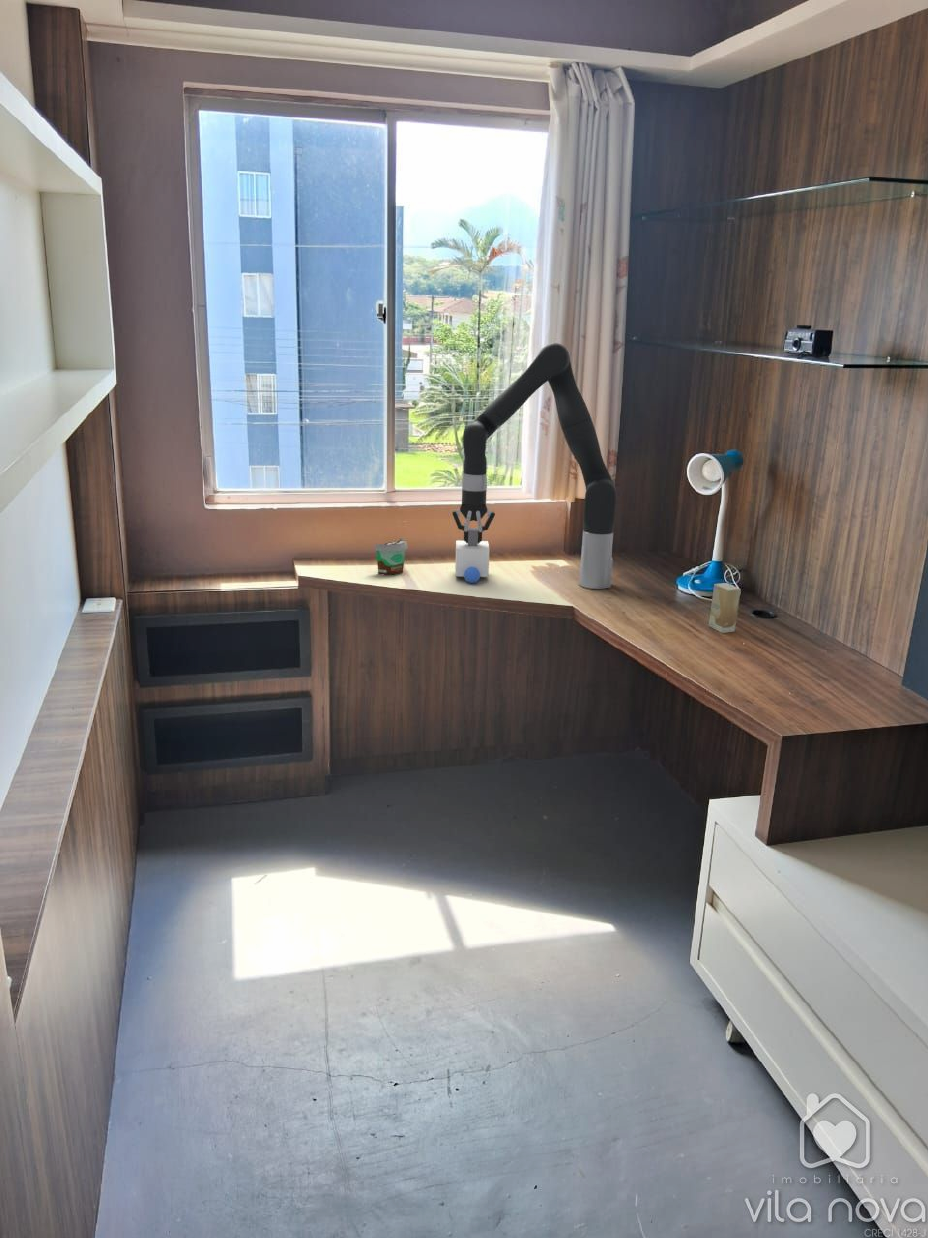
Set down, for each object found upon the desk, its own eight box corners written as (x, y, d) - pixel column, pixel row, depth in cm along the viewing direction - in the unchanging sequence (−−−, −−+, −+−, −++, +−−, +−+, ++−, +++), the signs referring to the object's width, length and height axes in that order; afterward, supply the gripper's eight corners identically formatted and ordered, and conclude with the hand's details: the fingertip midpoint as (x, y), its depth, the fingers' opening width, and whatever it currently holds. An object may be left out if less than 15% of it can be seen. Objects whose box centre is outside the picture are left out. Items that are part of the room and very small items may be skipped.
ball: (479, 577, 295) (480, 563, 293) (480, 586, 291) (480, 572, 288) (463, 577, 295) (463, 563, 292) (463, 586, 291) (464, 572, 288)
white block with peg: (487, 567, 304) (488, 525, 300) (488, 577, 295) (490, 533, 290) (455, 566, 304) (456, 525, 300) (455, 576, 295) (456, 533, 290)
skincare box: (707, 626, 258) (712, 583, 255) (720, 625, 260) (726, 582, 256) (722, 633, 253) (728, 589, 249) (735, 632, 254) (741, 588, 251)
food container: (389, 578, 294) (389, 547, 291) (374, 574, 298) (375, 543, 295) (415, 571, 304) (415, 540, 301) (400, 567, 307) (400, 537, 304)
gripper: (496, 486, 295) (494, 540, 300) (451, 485, 294) (450, 539, 300) (497, 490, 287) (495, 546, 293) (451, 489, 287) (450, 545, 292)
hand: (472, 542), depth 296 cm, fingers closed on white block with peg, 3 cm apart
